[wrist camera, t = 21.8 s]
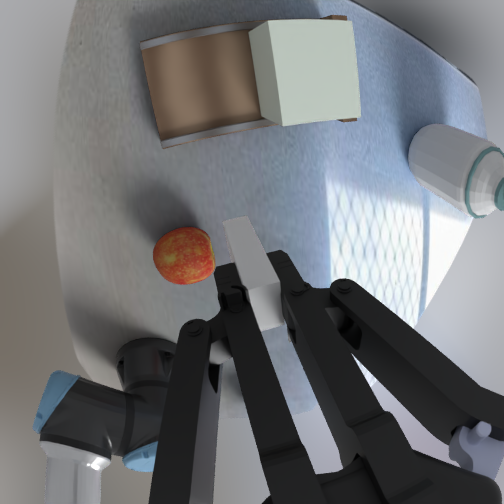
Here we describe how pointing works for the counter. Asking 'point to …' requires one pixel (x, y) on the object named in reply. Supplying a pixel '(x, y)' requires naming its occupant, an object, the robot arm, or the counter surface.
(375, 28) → the counter surface
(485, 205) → the soap bottle
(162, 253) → the apple
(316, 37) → the cover
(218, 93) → the housing base
